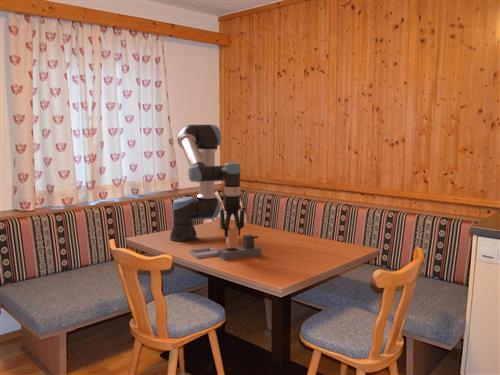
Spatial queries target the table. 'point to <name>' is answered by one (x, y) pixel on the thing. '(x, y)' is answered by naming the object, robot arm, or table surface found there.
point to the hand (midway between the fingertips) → (232, 242)
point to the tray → (203, 252)
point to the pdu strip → (241, 249)
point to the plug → (233, 237)
